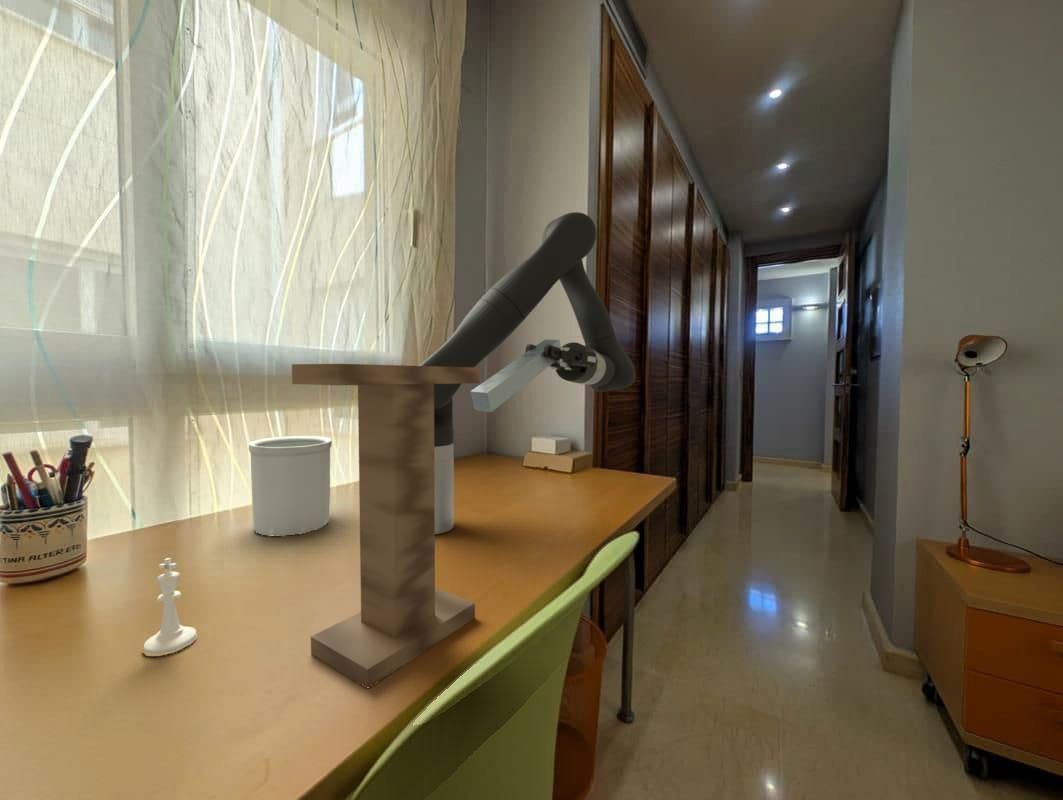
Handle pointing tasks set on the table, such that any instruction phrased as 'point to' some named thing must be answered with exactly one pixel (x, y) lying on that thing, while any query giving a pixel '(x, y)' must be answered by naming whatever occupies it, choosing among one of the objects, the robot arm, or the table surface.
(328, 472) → the utensil holder
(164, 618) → the chess piece
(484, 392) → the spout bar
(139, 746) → the table surface
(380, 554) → the walnut stand
